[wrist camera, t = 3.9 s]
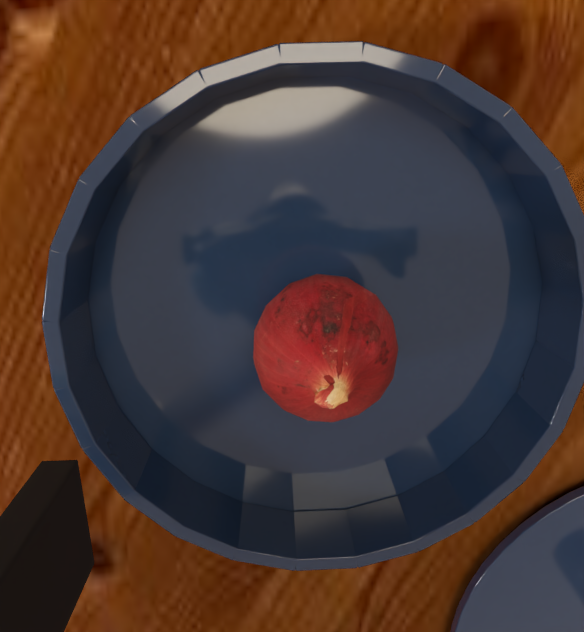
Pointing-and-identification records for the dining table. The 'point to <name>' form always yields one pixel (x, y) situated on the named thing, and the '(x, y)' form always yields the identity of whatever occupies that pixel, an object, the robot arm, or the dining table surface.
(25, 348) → the dining table surface
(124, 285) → the blue round pan
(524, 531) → the lid
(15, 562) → the robot arm
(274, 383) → the onion
